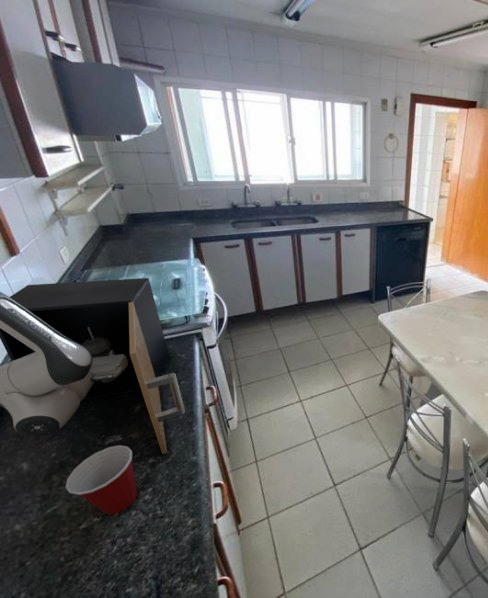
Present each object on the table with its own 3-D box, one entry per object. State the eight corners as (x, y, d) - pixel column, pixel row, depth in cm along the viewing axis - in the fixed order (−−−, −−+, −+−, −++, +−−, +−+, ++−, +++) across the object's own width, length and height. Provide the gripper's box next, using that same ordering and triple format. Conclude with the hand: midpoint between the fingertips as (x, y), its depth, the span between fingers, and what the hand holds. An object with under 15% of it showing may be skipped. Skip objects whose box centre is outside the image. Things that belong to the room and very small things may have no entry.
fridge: (157, 388, 106) (131, 300, 93) (35, 408, 95) (-14, 311, 82) (169, 357, 121) (148, 277, 108) (65, 371, 110) (27, 284, 97)
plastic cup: (97, 489, 75) (76, 454, 70) (154, 473, 79) (137, 438, 74) (79, 537, 66) (53, 501, 61) (143, 516, 70) (124, 480, 65)
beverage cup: (118, 368, 112) (96, 317, 103) (128, 375, 109) (106, 324, 100) (92, 380, 106) (65, 327, 97) (102, 388, 103) (75, 334, 94)
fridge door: (180, 383, 109) (158, 297, 96) (193, 444, 88) (167, 345, 75) (155, 390, 105) (128, 302, 92) (163, 456, 84) (129, 354, 71)
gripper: (115, 366, 89) (131, 340, 101) (13, 381, 82) (43, 351, 93) (122, 385, 92) (136, 357, 103) (23, 400, 84) (51, 369, 96)
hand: (91, 354), depth 98 cm, fingers open, 8 cm apart
